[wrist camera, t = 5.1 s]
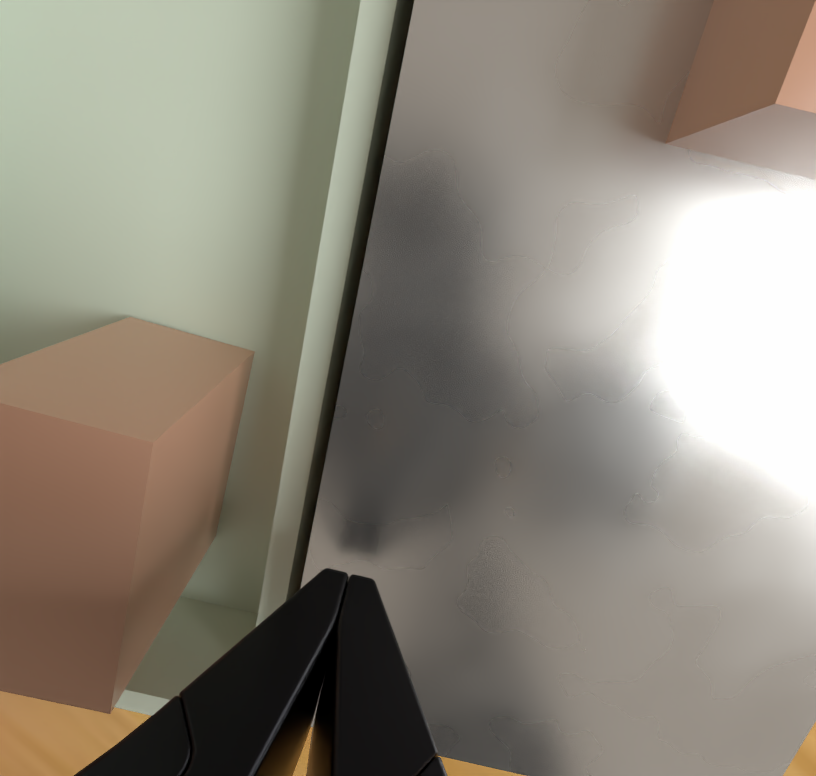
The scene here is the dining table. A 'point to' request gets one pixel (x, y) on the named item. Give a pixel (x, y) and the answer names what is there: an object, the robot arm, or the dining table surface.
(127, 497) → the tile
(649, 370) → the plate
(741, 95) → the tile
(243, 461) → the tray
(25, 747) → the dining table surface
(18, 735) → the dining table surface
